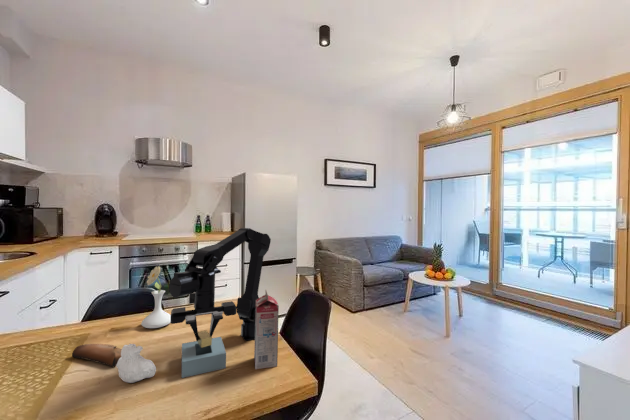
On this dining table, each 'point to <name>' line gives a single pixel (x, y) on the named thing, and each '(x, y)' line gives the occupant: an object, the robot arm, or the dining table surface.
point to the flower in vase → (156, 304)
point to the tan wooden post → (204, 339)
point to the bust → (134, 364)
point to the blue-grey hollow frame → (202, 357)
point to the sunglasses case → (98, 353)
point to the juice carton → (266, 332)
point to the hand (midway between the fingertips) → (203, 339)
